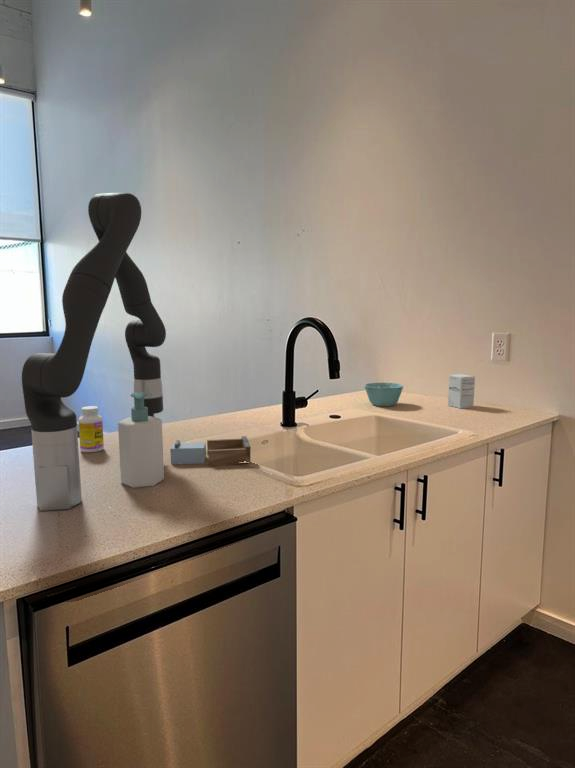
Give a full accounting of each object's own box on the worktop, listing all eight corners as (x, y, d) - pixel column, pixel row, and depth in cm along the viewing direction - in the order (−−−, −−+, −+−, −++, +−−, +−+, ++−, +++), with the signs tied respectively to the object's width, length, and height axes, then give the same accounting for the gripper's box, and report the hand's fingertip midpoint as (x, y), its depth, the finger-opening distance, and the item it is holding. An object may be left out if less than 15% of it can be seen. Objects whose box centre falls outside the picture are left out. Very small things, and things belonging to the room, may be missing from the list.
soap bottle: (121, 489, 136) (116, 397, 133) (121, 477, 145) (116, 391, 142) (165, 485, 139) (161, 395, 136) (163, 473, 148) (159, 389, 144)
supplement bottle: (96, 453, 167) (94, 410, 165) (75, 452, 168) (73, 409, 166) (108, 447, 173) (105, 405, 171) (88, 446, 174) (85, 404, 172)
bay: (250, 463, 156) (250, 446, 156) (208, 465, 155) (208, 449, 154) (246, 451, 168) (246, 436, 167) (207, 453, 166) (207, 437, 165)
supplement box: (447, 405, 234) (448, 374, 232) (461, 404, 237) (462, 373, 235) (459, 408, 227) (461, 377, 225) (474, 407, 230) (475, 375, 228)
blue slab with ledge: (204, 464, 157) (203, 444, 156) (170, 464, 156) (170, 445, 155) (206, 457, 163) (205, 438, 162) (173, 458, 162) (173, 439, 161)
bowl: (357, 402, 242) (358, 382, 240) (391, 400, 246) (392, 381, 245) (374, 409, 227) (374, 388, 226) (409, 407, 232) (410, 386, 230)
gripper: (161, 398, 149) (164, 463, 152) (163, 390, 162) (166, 449, 165) (131, 399, 148) (135, 464, 151) (136, 391, 161) (139, 451, 164)
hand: (151, 456), depth 158 cm, fingers closed
